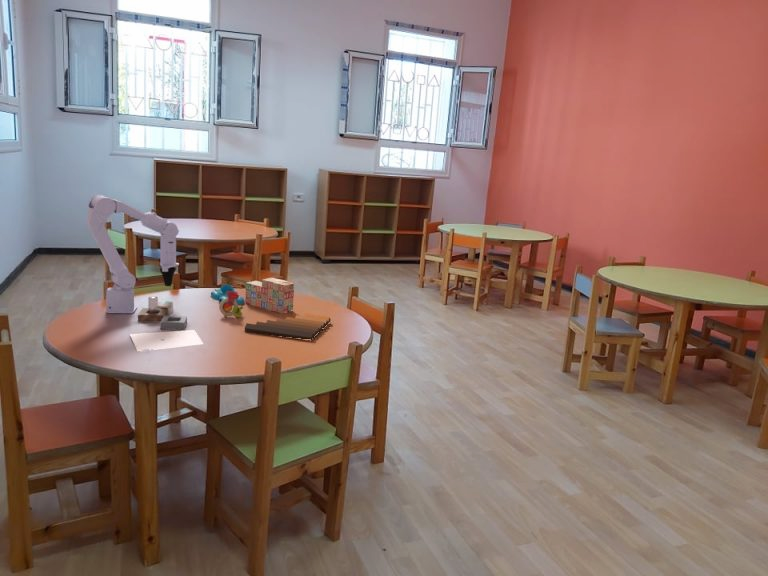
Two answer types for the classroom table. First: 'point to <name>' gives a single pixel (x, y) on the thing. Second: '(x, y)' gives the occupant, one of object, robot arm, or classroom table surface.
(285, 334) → the pan flute
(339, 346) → the classroom table surface
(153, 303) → the steel peg
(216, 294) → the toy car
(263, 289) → the stack of blocks
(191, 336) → the paper sheet
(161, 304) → the block
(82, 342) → the classroom table surface
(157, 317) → the socket block
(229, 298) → the bird rattle
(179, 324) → the block
